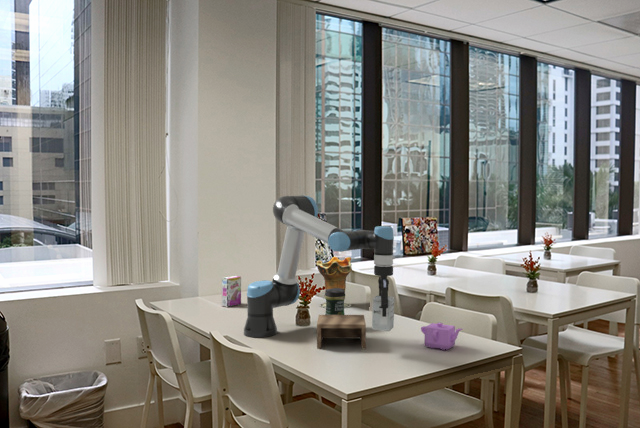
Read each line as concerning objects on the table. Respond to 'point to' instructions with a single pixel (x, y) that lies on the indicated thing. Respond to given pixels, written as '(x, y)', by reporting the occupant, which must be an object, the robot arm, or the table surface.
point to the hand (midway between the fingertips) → (383, 321)
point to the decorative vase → (335, 274)
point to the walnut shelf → (341, 327)
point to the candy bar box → (231, 291)
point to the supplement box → (377, 314)
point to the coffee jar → (335, 301)
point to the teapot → (440, 335)
